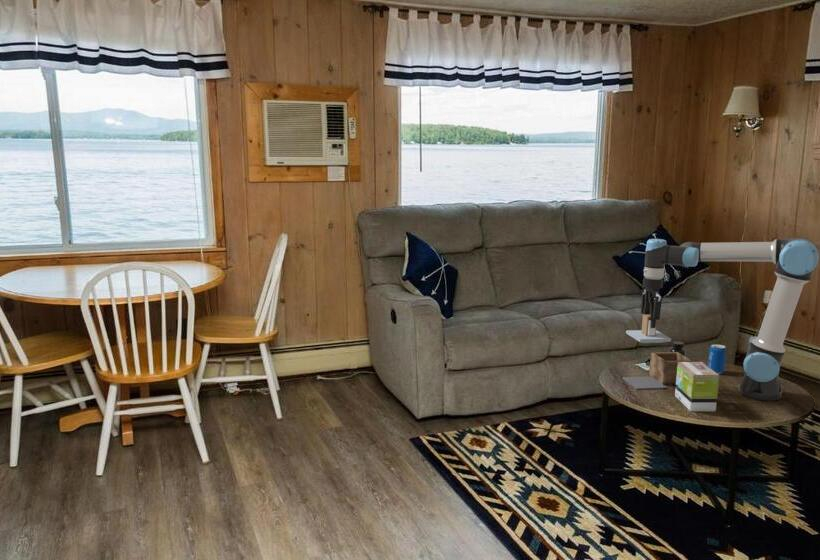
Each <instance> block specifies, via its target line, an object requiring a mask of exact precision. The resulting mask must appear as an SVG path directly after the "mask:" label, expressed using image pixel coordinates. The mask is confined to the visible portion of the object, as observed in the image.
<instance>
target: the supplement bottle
mask: <svg viewBox="0 0 820 560" xmlns="http://www.w3.org/2000/svg"><path fill="white" fill-rule="evenodd" d="M684 347H685V343H684V342H682V341H671V347H670V348H669V350H668V352H678V353H680V354H681V355H683V356H685V357H686V353H687V351H686V349H684Z"/></svg>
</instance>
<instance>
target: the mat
mask: <svg viewBox="0 0 820 560" xmlns="http://www.w3.org/2000/svg"><path fill="white" fill-rule="evenodd" d="M622 380H623V381H625V382H626V383H627V382H628V383H627V384H629V385H630V386H631V385H632V386H633V387H632V386H631V387H632V388H634V389H635V390H636V389H641V390H664V389H663V388H667V389H668V387H667V386H666V385H663V384H662V383H660V382H659V381H658V380H656V379H655V378H653V377H652V376H650V375H649V376H623V377H622ZM660 388H661V389H660Z"/></svg>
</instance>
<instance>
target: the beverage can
mask: <svg viewBox="0 0 820 560" xmlns="http://www.w3.org/2000/svg"><path fill="white" fill-rule="evenodd" d="M708 351H709V353H708V360H707V361H708V362H707V366H708V367H709V368H711V369H712V370H713V371H715V372H716V373H717V374H719V375H721V374H723V373H725V365H726V363H725V362H726V354H727V349H726V346H725V345H722V344H716V343H715V344H713V343H712V344H711V345H710V347H709V350H708Z"/></svg>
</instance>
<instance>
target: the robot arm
mask: <svg viewBox="0 0 820 560" xmlns="http://www.w3.org/2000/svg"><path fill="white" fill-rule="evenodd" d="M667 243H668V242H667V240H665V239H661V238H649V239H647V242H646V247H645V251H644V252H645V256H644V268H643V276H644V277H643V279H642V286H643V287H644V288H645V289H641V291H640V293H641V304H640V314H642V315H643V314H650V319H649V324H648V336H654V335H655V327H656V328H657V322H656V320H657V321H658V320H660V319H661V310H662V301H663V298H664V297H663V296H661V295H660V289H662V288H663V286H664V279H663V278H664V277H665V276H664V274H665V265H673V266H681V267H687V268H689V267H696V266H698V263H699V262H767V263H768V262H771V263H773V264H775V265H776V266H775V270H774V274H775V276H776V282H775V284H774V287H773V289H772V293H771V295H770V297H769V298H770V299H769V301H768V303H767V307H766V310H765V314H764V316H763V320H762V322H761V324H760V325H761V326H760V329H759V331H758V333H757V336H750V338H749V339H748V343H747V345H748V349H747V353H746V355H745V358H744V360H743V370H744V374H743V377H742V379H741V381H740V383H739V384H738V393H740V394H741V395H743V396H745V397H748V398H751V399H754V400H760V401H770V402H771V401H777V400H780V399H781V398H782V395H783V394H782V393H783V392H782V387H781V384H780V383H781V382H780V378H779V377H780V376H779V375H780V370H781V369H780V368H781V365H782V361H783V359H784V356H785V354H786V349H785V347H784V346H783V345H784V342H785V339H786V336H787V333H788V330H789V328H790V325H791V321H792V319H793V316H794V313H795V310H796V307H797V304H798V302H799V299H800V296H801V294H802V291H803V288H804V286H805V284H807V283H809V282H811V279H812V277H813V274H814V272H815V269H816V267H817V266H818V264H819V261H820V253H819V247H817V245H816V243H815V242H814V241H812V240H811V239H809V238H807V237H802V236H798V237H790V238H776V239H774V240H773V241H743V242H741V241H739V242H734V241H732V242H731V241H730V242H725V241H724V242H693V241H688V242H687V241H686V242H683V243H681V244H680V245H669V244H667Z"/></svg>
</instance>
